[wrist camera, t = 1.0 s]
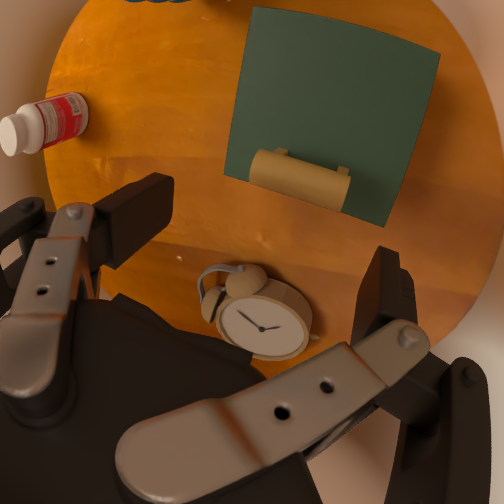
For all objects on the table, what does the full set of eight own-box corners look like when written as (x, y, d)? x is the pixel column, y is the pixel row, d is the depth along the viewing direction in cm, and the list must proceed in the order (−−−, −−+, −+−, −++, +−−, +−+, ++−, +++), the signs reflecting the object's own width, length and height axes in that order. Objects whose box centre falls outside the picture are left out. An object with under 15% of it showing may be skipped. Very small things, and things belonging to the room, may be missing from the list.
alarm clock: (265, 371, 41) (171, 310, 37) (271, 342, 44) (185, 282, 40) (330, 342, 34) (225, 263, 30) (332, 309, 38) (238, 233, 34)
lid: (383, 223, 21) (385, 267, 16) (227, 171, 23) (189, 199, 18) (438, 54, 14) (463, 46, 9) (257, 7, 16) (219, -12, 11)
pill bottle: (59, 127, 36) (-5, 152, 27) (65, 86, 32) (-3, 104, 23) (86, 142, 36) (19, 170, 27) (94, 98, 32) (21, 119, 23)
